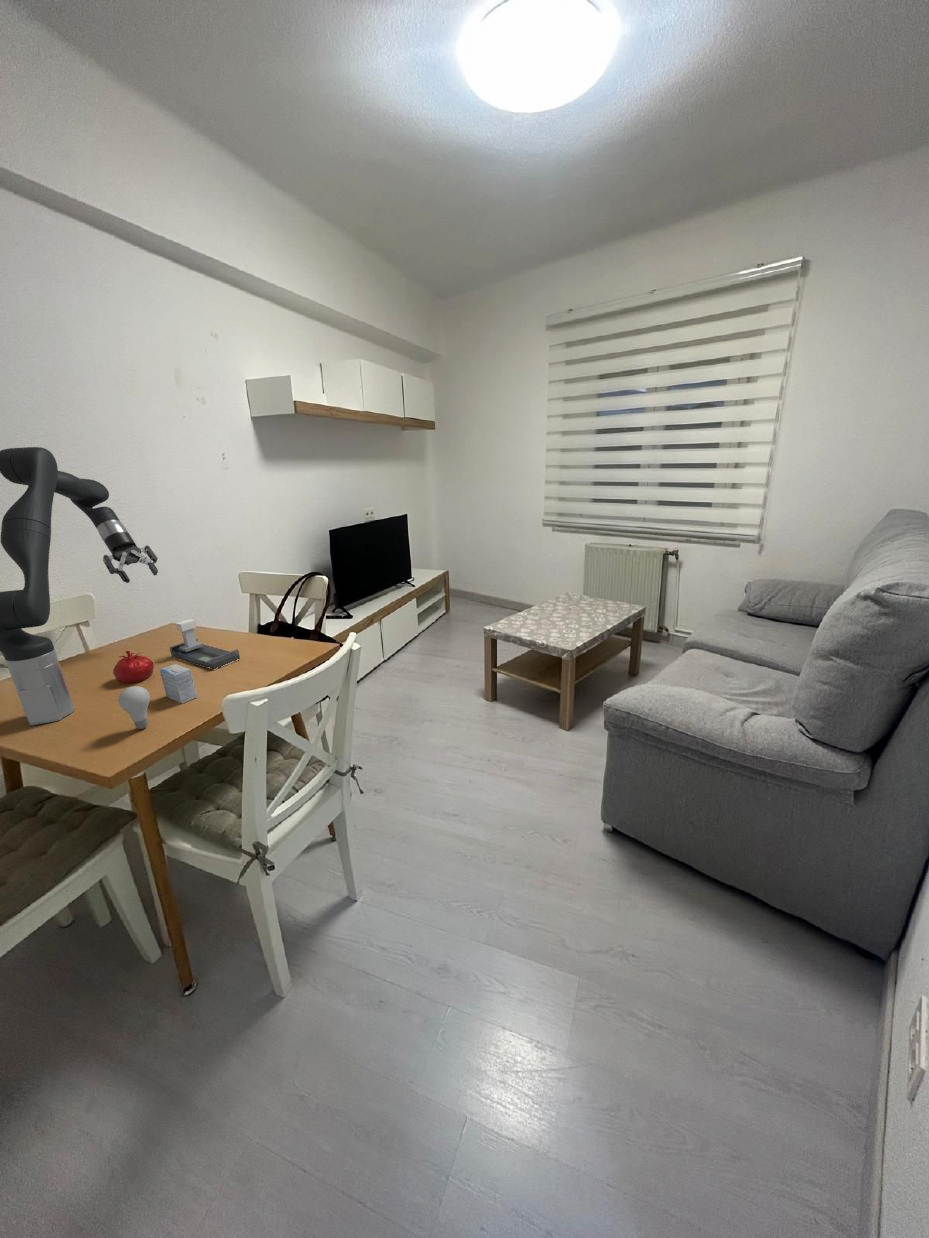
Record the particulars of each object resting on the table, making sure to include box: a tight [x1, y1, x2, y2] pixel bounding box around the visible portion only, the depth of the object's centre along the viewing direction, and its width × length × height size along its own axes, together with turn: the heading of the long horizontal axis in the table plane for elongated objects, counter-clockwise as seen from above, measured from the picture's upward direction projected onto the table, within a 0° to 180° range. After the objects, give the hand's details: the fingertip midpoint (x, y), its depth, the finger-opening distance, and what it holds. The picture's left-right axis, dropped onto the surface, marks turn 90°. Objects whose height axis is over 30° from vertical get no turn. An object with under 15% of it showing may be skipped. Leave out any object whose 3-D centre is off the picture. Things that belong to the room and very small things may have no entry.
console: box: [168, 638, 241, 670], centre depth 154 cm, size 24×9×4 cm, turn 60°
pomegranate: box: [112, 650, 155, 684], centre depth 139 cm, size 10×10×9 cm
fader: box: [175, 618, 205, 652], centre depth 155 cm, size 4×6×9 cm, turn 150°
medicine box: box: [159, 663, 198, 704], centre depth 126 cm, size 8×4×9 cm, turn 58°
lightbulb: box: [118, 685, 151, 730], centre depth 111 cm, size 6×6×11 cm
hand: (142, 578), depth 155 cm, fingers open, 8 cm apart
